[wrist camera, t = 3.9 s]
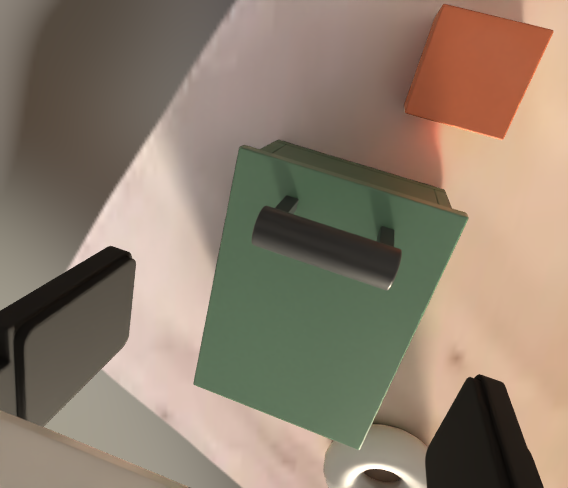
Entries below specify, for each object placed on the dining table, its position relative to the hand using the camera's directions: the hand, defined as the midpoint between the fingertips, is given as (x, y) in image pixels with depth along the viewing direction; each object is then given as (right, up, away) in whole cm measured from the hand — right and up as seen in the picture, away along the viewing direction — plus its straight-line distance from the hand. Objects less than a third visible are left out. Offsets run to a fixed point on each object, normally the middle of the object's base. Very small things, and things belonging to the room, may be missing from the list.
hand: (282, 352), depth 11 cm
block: (+10, +13, +13) cm, 21 cm away
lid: (+2, -1, +13) cm, 13 cm away
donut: (+9, -16, +26) cm, 32 cm away
